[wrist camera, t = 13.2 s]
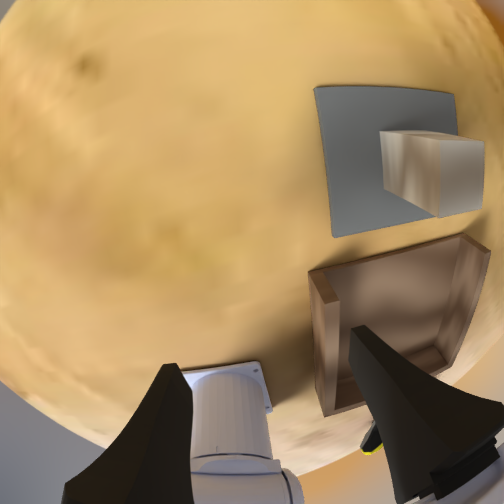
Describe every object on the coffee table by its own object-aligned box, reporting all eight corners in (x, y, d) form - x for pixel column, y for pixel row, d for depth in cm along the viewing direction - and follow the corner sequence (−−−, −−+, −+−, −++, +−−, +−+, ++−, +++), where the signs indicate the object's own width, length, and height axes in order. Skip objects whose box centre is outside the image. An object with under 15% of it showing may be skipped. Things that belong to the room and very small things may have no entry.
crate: (435, 345, 26) (451, 366, 23) (315, 388, 26) (324, 417, 23) (463, 232, 20) (491, 251, 16) (308, 271, 20) (324, 304, 16)
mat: (452, 210, 19) (456, 212, 18) (331, 235, 19) (334, 238, 18) (449, 94, 14) (453, 94, 14) (313, 88, 14) (316, 87, 14)
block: (425, 183, 17) (481, 208, 11) (383, 188, 17) (438, 218, 12) (423, 130, 15) (484, 141, 10) (379, 131, 15) (439, 140, 10)
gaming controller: (350, 433, 34) (402, 416, 35) (359, 460, 29) (413, 440, 30) (376, 380, 28) (436, 360, 28) (393, 415, 23) (455, 388, 23)
